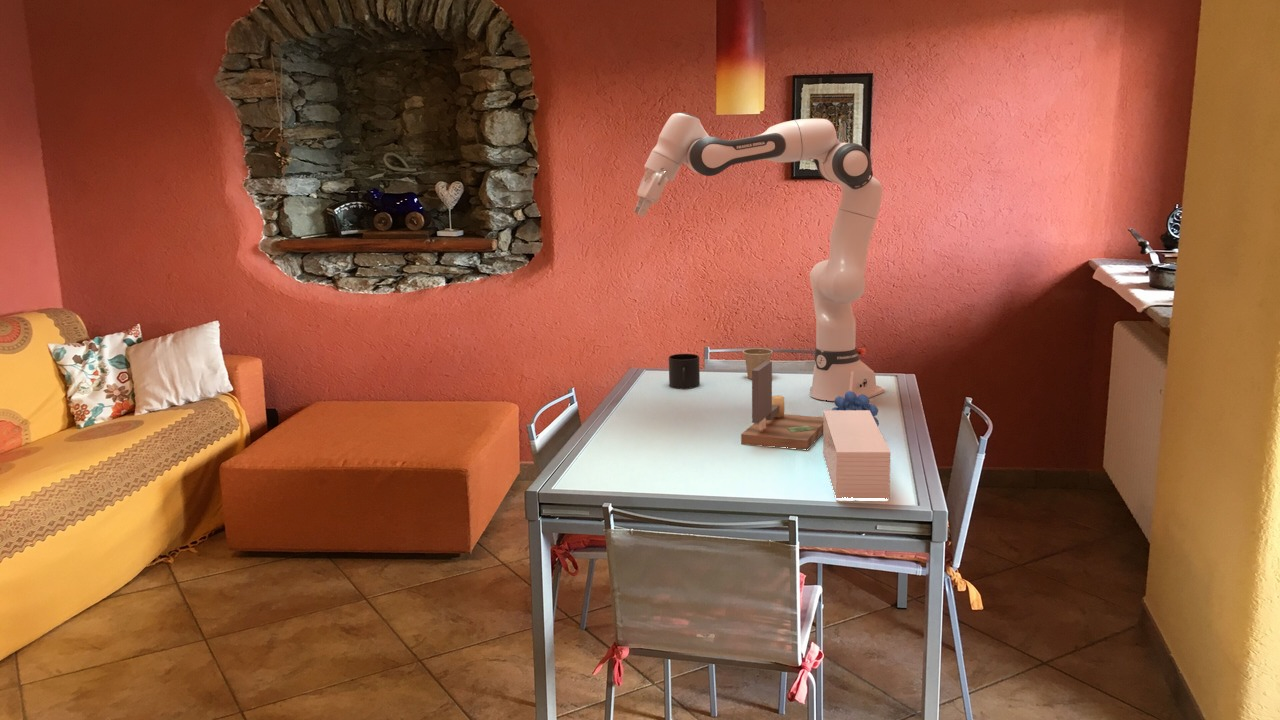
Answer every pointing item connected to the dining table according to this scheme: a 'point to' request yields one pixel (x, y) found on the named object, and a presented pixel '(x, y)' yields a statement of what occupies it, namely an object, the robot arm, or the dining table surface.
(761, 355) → the flower pot
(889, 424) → the dining table surface
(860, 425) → the stack of papers
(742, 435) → the wooden cutting board
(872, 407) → the grapes
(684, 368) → the mug
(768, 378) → the paddle
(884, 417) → the dining table surface
